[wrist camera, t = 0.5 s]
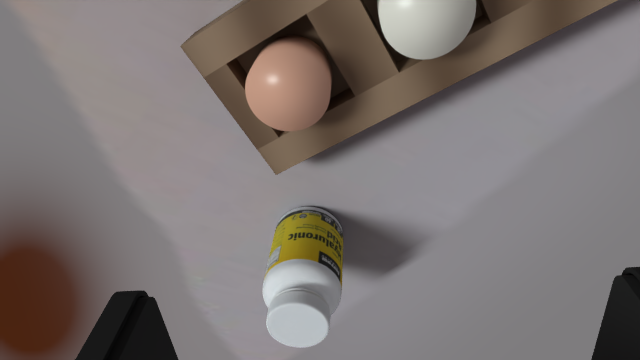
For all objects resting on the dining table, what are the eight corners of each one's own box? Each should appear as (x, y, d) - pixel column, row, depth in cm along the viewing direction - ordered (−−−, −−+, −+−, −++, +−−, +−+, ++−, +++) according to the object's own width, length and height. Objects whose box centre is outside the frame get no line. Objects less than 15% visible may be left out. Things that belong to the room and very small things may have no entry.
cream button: (442, -66, 25) (452, -60, 23) (477, 16, 27) (490, 29, 25) (361, -16, 27) (362, -5, 24) (400, 58, 29) (405, 75, 26)
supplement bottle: (355, 220, 38) (356, 316, 29) (324, 266, 40) (317, 366, 32) (292, 192, 37) (275, 284, 28) (265, 241, 39) (241, 338, 31)
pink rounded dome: (305, 19, 28) (300, 33, 25) (346, 88, 30) (346, 107, 27) (238, 61, 29) (228, 77, 27) (282, 123, 31) (276, 144, 29)
